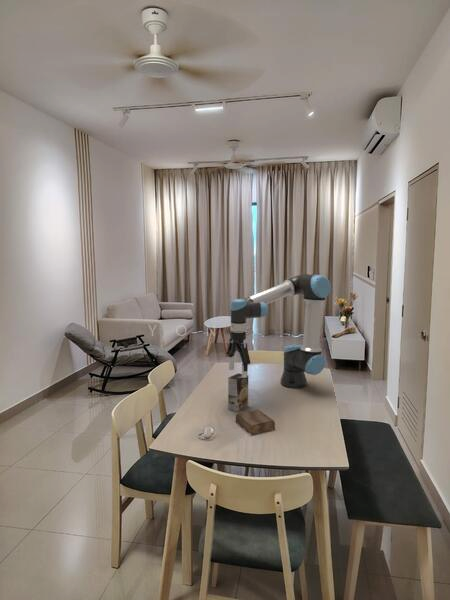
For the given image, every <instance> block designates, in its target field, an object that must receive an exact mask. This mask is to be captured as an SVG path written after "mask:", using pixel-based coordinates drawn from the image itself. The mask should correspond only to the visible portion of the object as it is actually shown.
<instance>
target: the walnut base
mask: <svg viewBox="0 0 450 600" xmlns="http://www.w3.org/2000/svg"><path fill="white" fill-rule="evenodd" d="M235 423H236V424H237V425H239V426H240V427H241V428H242V429H243V428H244V429H245V430H244V429H243V430H244V431H245V432H247V433H248V434H249V433H250V434H251V435H250V434H249V435H250V436H252V435H257V434H261V433H264V432H269V431H272V430H275V429H276V424H275V423H276V421H274V419H272V418H271V417H270V416H268V415H267V414H265V413H264V412H262V411H261V410H259V408H258V409H253V410H249V411H248V410H247V411H244V412H238V413H236V414H235Z"/></svg>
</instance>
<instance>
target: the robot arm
mask: <svg viewBox="0 0 450 600" xmlns="http://www.w3.org/2000/svg"><path fill="white" fill-rule="evenodd" d="M331 287H332V285H331V282H330V280H329V279H328V277H326V276H325V275H320V274H311V273H310V274H308V273H302V274H299V275H296V276H295V275H294V276H292V277H290V278H288V279H285V280H284V281H283V282H282V283H281V284H278V285H275V286H272V287H270V288H268V289H265V290H262V291H260V292H258V293H255V294H253V295H250V296H247V297H245V298H237V299H233V300H231V301H230V326H229V327H230V338H229V340H228V341H229V343H228V345H227V346H228V347H227V350H226V355H227V357H228V370H229V371H233V370H235V354H236V352H238V354H239V357H240V359H241V362H242V363H241V374H242V378H246V377H247V375H248V367H249V365H251V358H250V353H249V349H248V343H245V342H244V341H245V340H246V339H247V332H246V331H247V319H256V318H260V319H261V318H264V317H266V316H268V313H269V307H268V304H271V303H273V302H276V301H279V300H281V299H284V298H286V297H288V296H289V297H292V296H296V295H303V298H302V299H303V301H304V303H305V311H304V329H303V341H302V342H303V343H302V344H289V345H286V346H284V348H283V371H282V375H281V378H280V385H282V386H283V387H286V388H289V389H301V388H304V387H306V386H307V385H308V384H307V382H308V381H307V377H306V374H308V375H312V376H316V375H320V374H321V372H322V371H323V370H324V369H325V367H326V358H325V357H324V356H323V354H322V348H321V347H320V338H321V323H322V310H323V303H324V302H326V297H328V296H329V294H330V293H331ZM305 373H306V374H305Z"/></svg>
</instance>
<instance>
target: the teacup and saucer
mask: <svg viewBox="0 0 450 600" xmlns="http://www.w3.org/2000/svg"><path fill="white" fill-rule="evenodd" d="M214 431H215V430H214V429H213V428H212V427H211V426H205V427H204V428H203V432H204V434H203V435H204V437H205V438H206V437H209V438H210V437H211V436H212V435H213V434H212V433H215V432H214Z"/></svg>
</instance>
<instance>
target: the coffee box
mask: <svg viewBox="0 0 450 600" xmlns="http://www.w3.org/2000/svg"><path fill="white" fill-rule="evenodd" d="M227 381H228V383H227V384H228V385H227V392H228V393H227V394H228V395H227V402H228V404H227V409H228V410H231V411H235V412H240V411H242V410H243V409H246V408H247V407H248V406H249V375H248V374H247V377H246V378H242V373H236V374H234V375H231V376H229V377H227Z"/></svg>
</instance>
